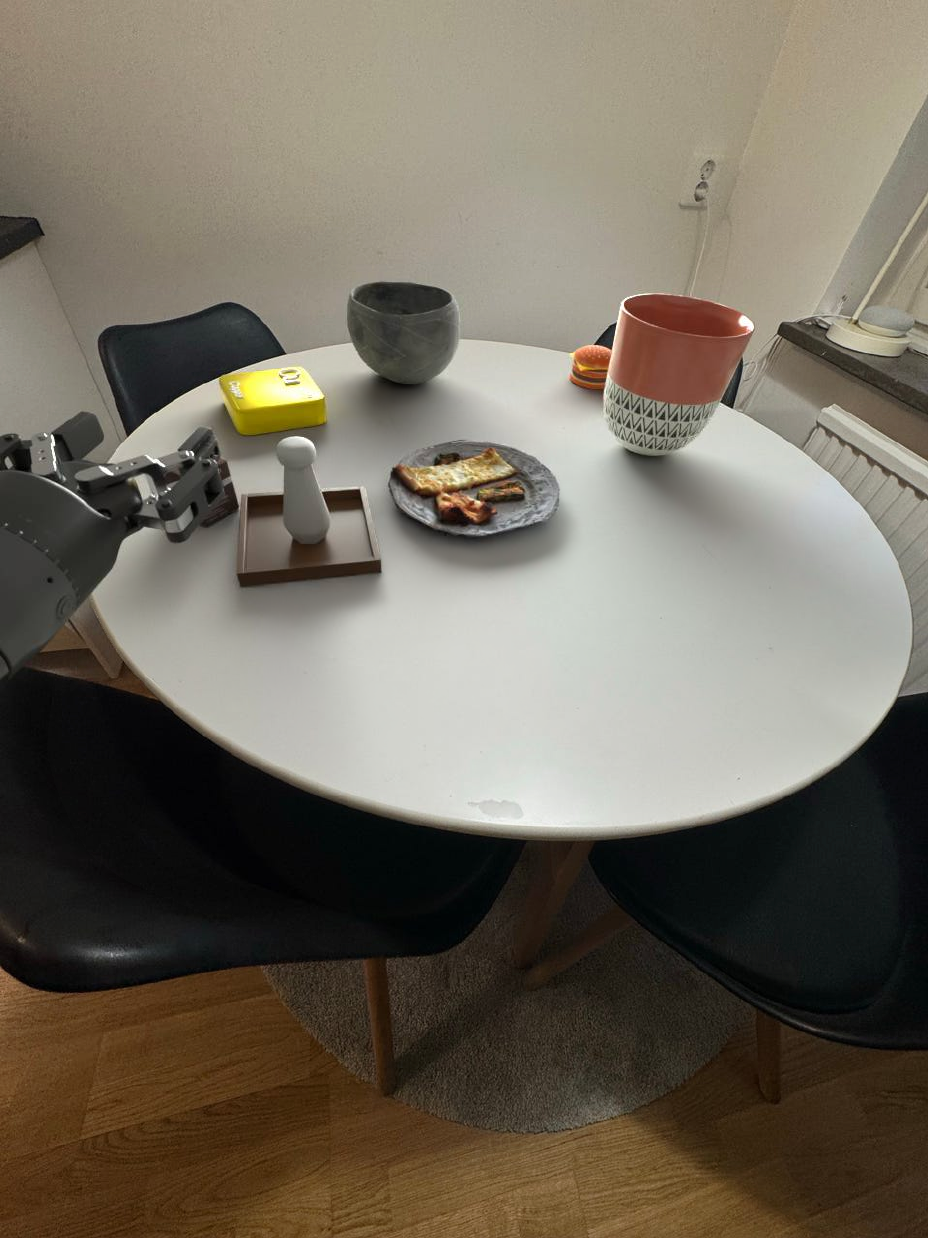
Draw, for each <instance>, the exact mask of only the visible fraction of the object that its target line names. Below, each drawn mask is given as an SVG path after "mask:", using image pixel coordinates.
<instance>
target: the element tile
mask: <svg viewBox="0 0 928 1238" xmlns="http://www.w3.org/2000/svg"><path fill="white" fill-rule="evenodd" d="M218 384H219V387H220V393H221V395H222V396H221V397H222V400H223V403H224V405H225V408H226V410H227V413H228V415H229V416H230V419H231V421H232V424H233V426H234V428H235V430H236V431H237V432H238V433H239V434H240V435H243V436H257V435H263V434H264V435H265V434H270V433H276V432H284V431H291V430H296V429H303V428H310V427H317V426H321V425H323V424H325V423H326V422H327V420H328V417H327V407H326V397H325V395H324V394H323V392H322V391H321V389H320V388H319V387H318V385H317V384H316V383H315V381H314V380H313V378H312V377H311V375H309V373H308V372H307V370H305V369H304V368H302V367H301V366H292V367H281V368H271V369H264V370H255V371H247V372H237V373H229V374H228V373H227V374H222V375H221V376H220V377H219V378H218Z"/></svg>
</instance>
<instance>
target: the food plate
mask: <svg viewBox="0 0 928 1238" xmlns="http://www.w3.org/2000/svg"><path fill="white" fill-rule="evenodd" d="M389 474H390V475H389V480H388V484H387V487H388V489H389V490H388V491H389V493H390V496H391V498H392V500H393V502H394V504H395V506H396V508H397V509H398V510H399V511H400V512H401V513H402V514H403V515H404V516H406V517H408V518H410V519H411V520H414V521H416V522H418V523H420V524H422V525H424V526H425V527H426V528H428V529H429V530H433V531H436V532H437V533H444V536H447V532H448V533H449V535H451V536H453V537H457V536H459V535H464V536H465V537H466V538H469V539H470V538H478V537H488V535H494V534H499V533H505V532H509V531H510V532H511V531H514V530H515V529H520V528H524V527H528V526H529V525H531V524H534V523H545V522H547V521H548V520H550V519H551V518H552V517H553V516H554V515H555V514H556V512H557V511H558V508H559V507H560V505H559V504H560V493H561V492H560V491H561V488H560V484H559V483H558V481H557V478H556V476H555V475H554V473H553V472H552V471H551V470H550V469H549V468H548V467H546V465H545V464H544V463H542V462H541V461H540V460H539V459H538V458H537V457H536V456H533V455H531V454H529V453H527V452H524V451H522V450H520V449H519V448H517V447H513V446H510V445H507V444H503V443H500V442H495V441H493V442H492V441H487V440H485V441H479V440H478V441H476V440H466V439H458V440H452V441H447V442H443V443H438V444H434V445H431V446H427V447H423V448H420V449H417V450H415V451H412V452H410V453H408V454H406V455H405V456H404V457H403V458H402V459H401V460H400V461H399V462H398V464H396V465H395V467H394V466H392V468H391V471H390V473H389Z"/></svg>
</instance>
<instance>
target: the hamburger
mask: <svg viewBox="0 0 928 1238" xmlns="http://www.w3.org/2000/svg"><path fill="white" fill-rule="evenodd" d="M611 352H612V349H609V348H608V347H606V346H602V345H595V344H588V345H585V346H582V347H579V348H577V349H576V350H574V352H571V353H569V357H571V358H572V359H573V360H572V363H571V367H572V368H571V371H570V372H569V379H570V381H571V382H572V383H573V384H575V385H577V386H580V387H582V388H586V389H591V390H604V388H605V383H606V378H607V372H608V367H609V362H610V357H611Z"/></svg>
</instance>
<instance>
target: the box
mask: <svg viewBox="0 0 928 1238" xmlns="http://www.w3.org/2000/svg"><path fill="white" fill-rule="evenodd" d="M216 463H217V467H218V470H219V474H220V477H221V481H222V485H223V489H224V492H225V496H224V497H223V499H222V500H221V501H220V502H219V503H218V504H217V506H216V507H215V508H214V509H213V510H212V511H211V513H210V514H209V515H208V516H207V517H206V518H205V519H204V521H203V522H202V523H201V524H200V525H199V527H200V526H201V527H203V528H208V527H210V526H211V525H213V524H215V523H216V522H219V521H220V520H222V519H224V518H226V517H227V516H229V515H231V514H232V513H234V512H236V511H238V510H240V509H239V508H240V504H239V501H238V497H237V493H236V489H235V486H234V481H233V477H232V474H231V471H230V467H229V464H228V460H227V459H225V458H223V457H220V459H219V460H218V461H217V462H216ZM180 479H181V477H180V474H179V470H178V469H177V470H174V471H171V472H169V473H167V474H166V475H165V480H166V483H167V485H168V484H170V483H173V482H176V481H179V480H180Z"/></svg>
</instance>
